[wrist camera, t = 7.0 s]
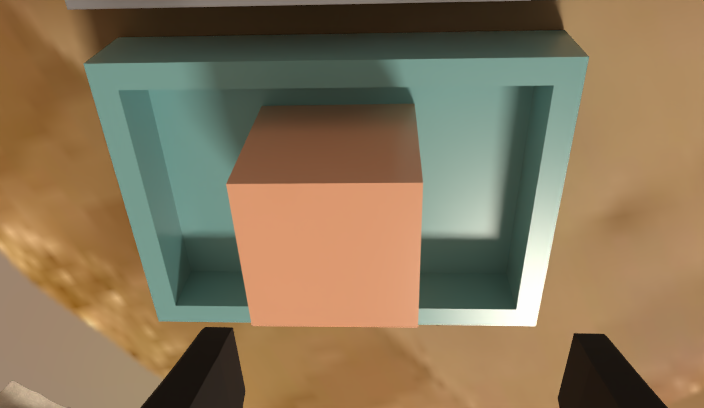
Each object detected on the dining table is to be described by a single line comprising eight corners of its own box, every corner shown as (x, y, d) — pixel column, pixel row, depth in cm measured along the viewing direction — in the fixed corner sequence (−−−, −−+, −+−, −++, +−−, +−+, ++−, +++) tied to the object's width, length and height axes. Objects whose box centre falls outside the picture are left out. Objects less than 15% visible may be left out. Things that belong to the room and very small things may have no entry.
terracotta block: (414, 103, 18) (423, 182, 14) (411, 229, 21) (417, 327, 17) (261, 105, 19) (226, 184, 15) (277, 230, 22) (251, 325, 17)
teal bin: (564, 29, 17) (588, 56, 15) (521, 281, 23) (535, 326, 21) (118, 37, 18) (83, 63, 16) (178, 278, 24) (159, 321, 22)
